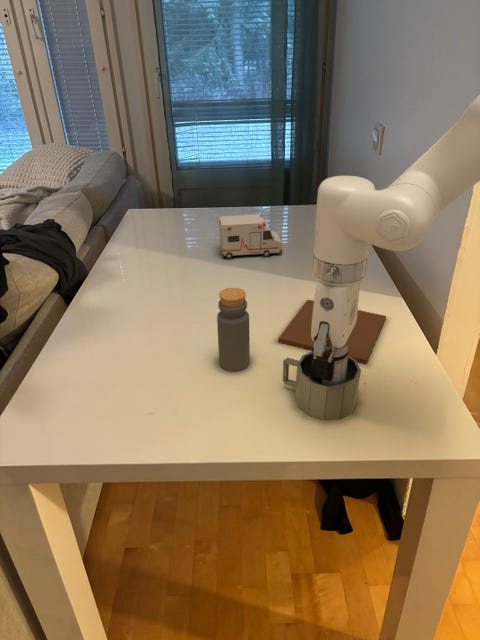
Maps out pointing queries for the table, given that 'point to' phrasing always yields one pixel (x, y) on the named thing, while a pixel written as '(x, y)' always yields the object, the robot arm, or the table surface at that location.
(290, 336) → the mat
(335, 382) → the beverage can
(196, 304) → the table surface
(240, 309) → the bottle
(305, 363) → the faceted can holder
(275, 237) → the toy vehicle
